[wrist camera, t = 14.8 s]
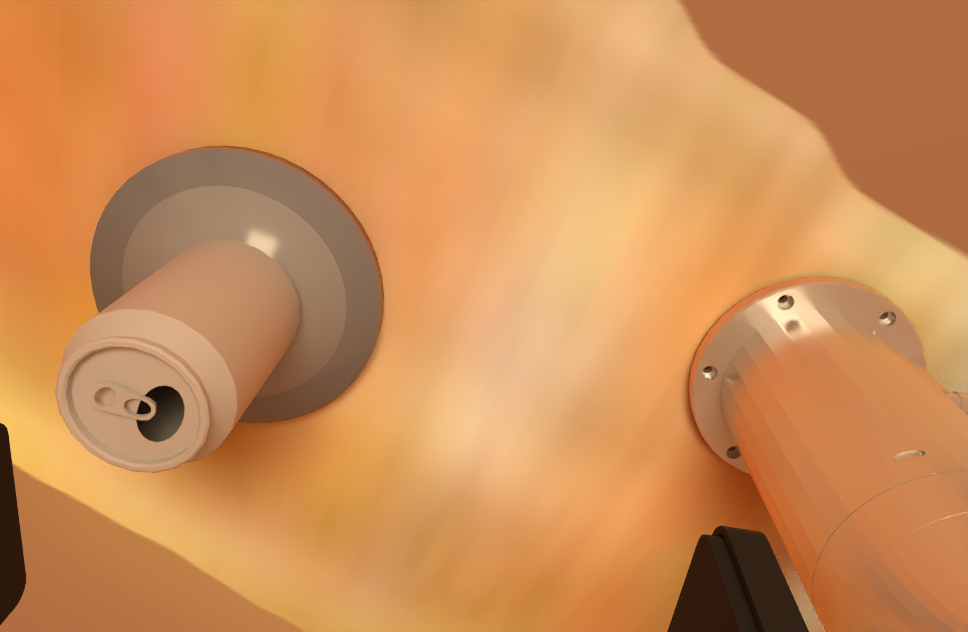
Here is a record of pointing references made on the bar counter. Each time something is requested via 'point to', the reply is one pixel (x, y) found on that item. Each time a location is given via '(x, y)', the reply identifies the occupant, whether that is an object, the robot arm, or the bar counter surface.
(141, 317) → the can
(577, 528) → the bar counter surface
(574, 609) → the bar counter surface
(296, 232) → the dish
